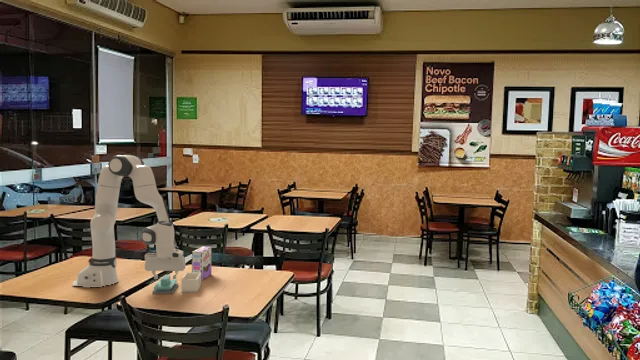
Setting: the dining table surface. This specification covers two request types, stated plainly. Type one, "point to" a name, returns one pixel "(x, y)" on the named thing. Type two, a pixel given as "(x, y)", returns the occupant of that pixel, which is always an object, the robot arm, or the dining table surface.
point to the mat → (166, 290)
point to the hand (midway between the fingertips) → (165, 278)
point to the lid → (165, 283)
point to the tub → (191, 283)
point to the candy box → (202, 261)
